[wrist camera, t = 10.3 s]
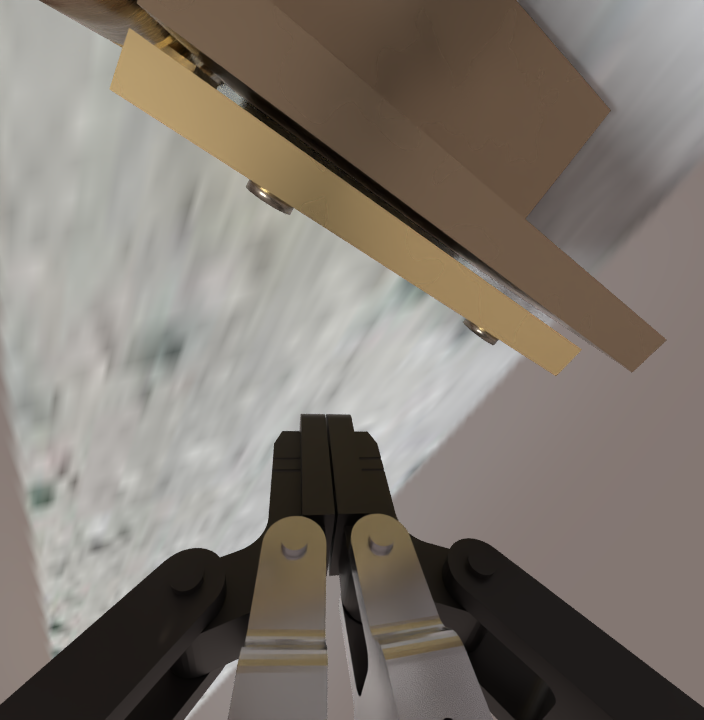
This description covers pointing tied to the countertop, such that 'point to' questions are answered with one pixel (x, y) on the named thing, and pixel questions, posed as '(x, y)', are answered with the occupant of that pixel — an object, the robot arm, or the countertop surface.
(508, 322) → the plate
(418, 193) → the hinge mount
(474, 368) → the countertop surface
